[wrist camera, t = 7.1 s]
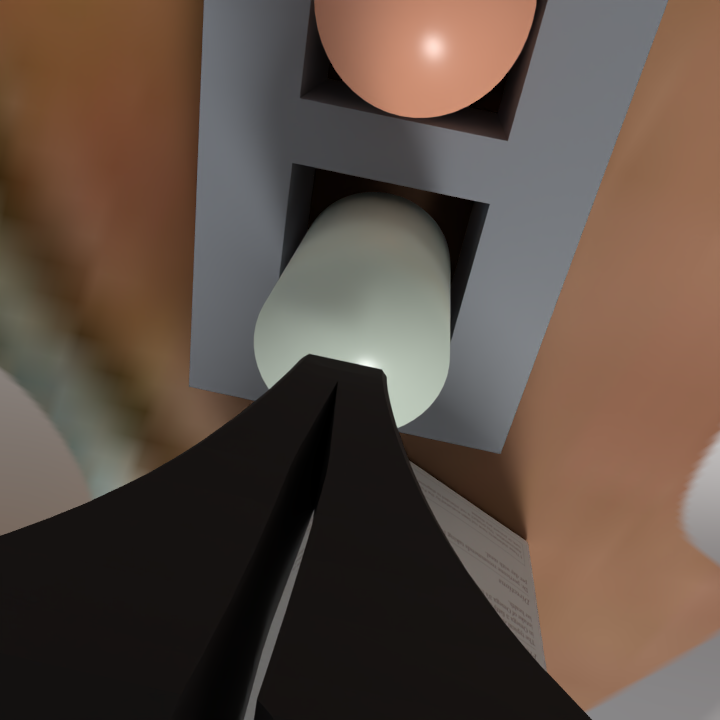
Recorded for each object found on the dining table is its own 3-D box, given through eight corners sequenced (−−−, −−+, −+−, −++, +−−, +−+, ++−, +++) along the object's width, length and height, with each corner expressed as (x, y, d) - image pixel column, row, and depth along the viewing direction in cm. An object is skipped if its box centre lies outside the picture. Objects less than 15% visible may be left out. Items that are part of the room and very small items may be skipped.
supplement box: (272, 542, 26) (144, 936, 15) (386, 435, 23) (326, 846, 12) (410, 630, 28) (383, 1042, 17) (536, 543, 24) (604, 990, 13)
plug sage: (293, 315, 17) (246, 413, 13) (312, 177, 15) (262, 242, 11) (431, 345, 17) (425, 451, 13) (467, 209, 15) (472, 286, 11)
